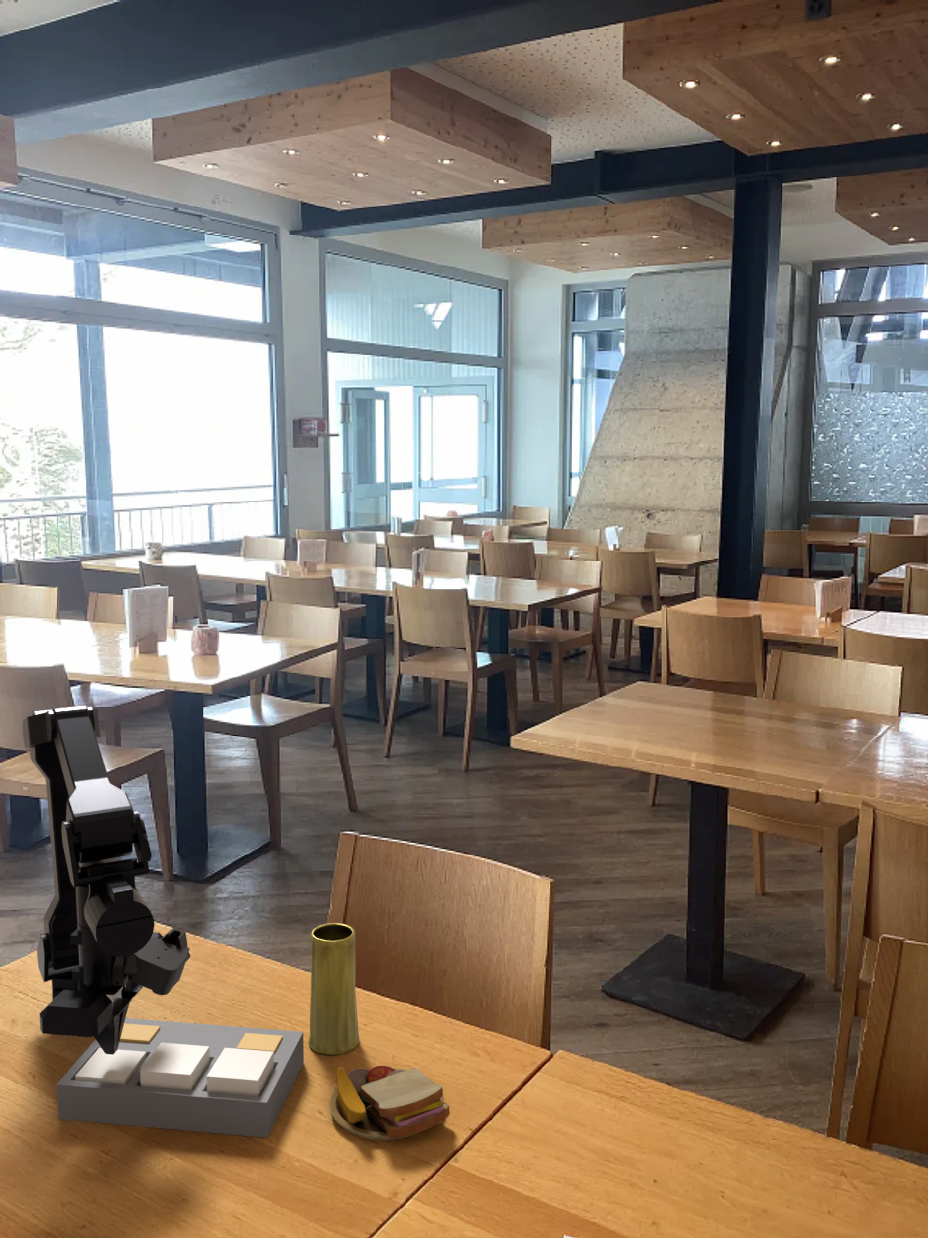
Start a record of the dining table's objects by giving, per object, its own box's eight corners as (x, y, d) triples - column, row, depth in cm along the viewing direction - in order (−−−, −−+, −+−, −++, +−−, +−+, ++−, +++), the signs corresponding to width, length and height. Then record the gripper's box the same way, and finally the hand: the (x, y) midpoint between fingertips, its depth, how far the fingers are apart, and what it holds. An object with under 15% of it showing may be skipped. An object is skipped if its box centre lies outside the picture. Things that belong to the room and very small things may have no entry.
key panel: (58, 1119, 114) (56, 1082, 113) (116, 1048, 128) (114, 1014, 127) (267, 1138, 111) (266, 1100, 111) (303, 1063, 125) (303, 1029, 124)
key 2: (225, 1068, 119) (224, 1047, 118) (273, 1072, 118) (273, 1051, 118) (207, 1098, 113) (206, 1076, 113) (258, 1102, 112) (257, 1080, 112)
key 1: (99, 1068, 121) (98, 1048, 120) (146, 1072, 120) (146, 1051, 119) (76, 1097, 115) (75, 1076, 115) (125, 1101, 114) (124, 1080, 114)
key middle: (161, 1063, 119) (161, 1042, 119) (209, 1067, 119) (209, 1046, 118) (140, 1092, 114) (140, 1071, 114) (191, 1096, 113) (190, 1075, 113)
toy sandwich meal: (420, 1068, 125) (420, 1031, 124) (464, 1136, 112) (465, 1095, 112) (316, 1092, 120) (316, 1053, 119) (351, 1165, 108) (350, 1122, 107)
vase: (350, 1059, 126) (349, 945, 124) (301, 1052, 127) (299, 940, 125) (365, 1032, 132) (364, 923, 130) (318, 1026, 133) (317, 918, 131)
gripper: (140, 963, 104) (145, 1110, 107) (208, 888, 123) (212, 1014, 125) (33, 956, 106) (41, 1100, 108) (116, 883, 124) (121, 1007, 126)
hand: (111, 1052), depth 117 cm, fingers closed
